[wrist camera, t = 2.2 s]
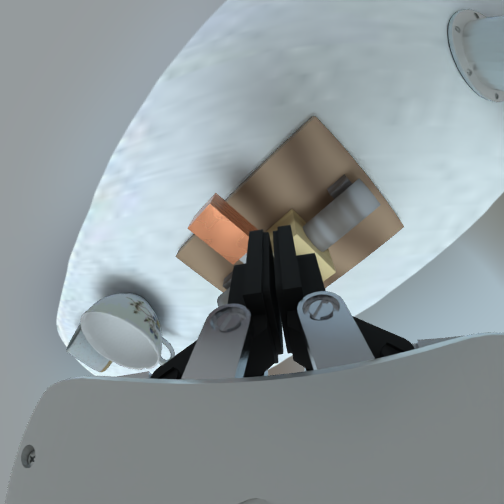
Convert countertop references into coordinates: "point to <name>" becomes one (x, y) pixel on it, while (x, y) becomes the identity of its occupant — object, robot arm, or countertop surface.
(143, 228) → the countertop surface
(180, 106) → the countertop surface
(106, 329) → the teacup
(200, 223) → the valve lever
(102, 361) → the ceramic mug
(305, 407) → the robot arm
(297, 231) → the stand
